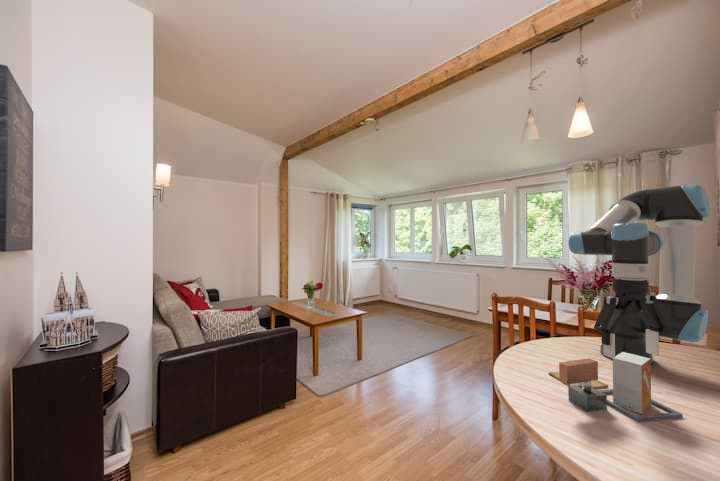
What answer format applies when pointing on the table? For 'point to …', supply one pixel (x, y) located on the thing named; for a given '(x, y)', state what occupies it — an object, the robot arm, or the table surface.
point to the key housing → (587, 398)
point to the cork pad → (593, 383)
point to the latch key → (579, 372)
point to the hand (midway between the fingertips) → (630, 355)
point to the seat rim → (669, 415)
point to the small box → (632, 382)
